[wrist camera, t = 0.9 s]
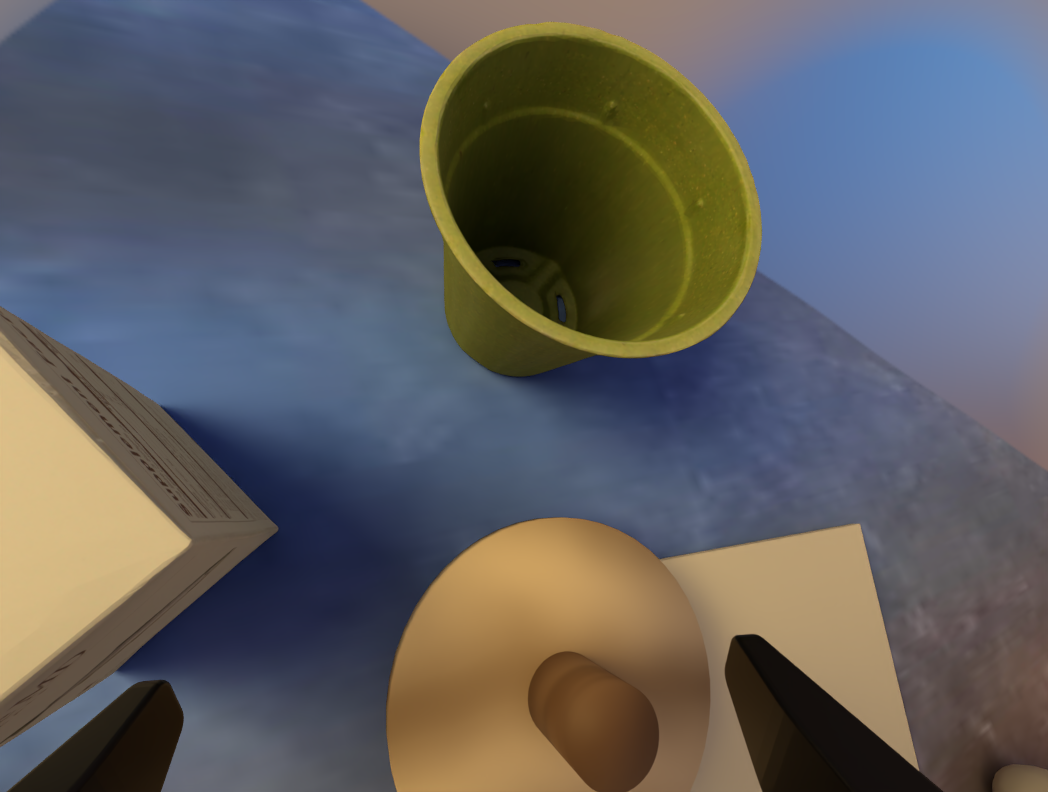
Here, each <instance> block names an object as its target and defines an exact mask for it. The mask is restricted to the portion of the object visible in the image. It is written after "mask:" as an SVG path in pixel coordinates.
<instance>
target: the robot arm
mask: <svg viewBox="0 0 1048 792" xmlns="http://www.w3.org/2000/svg"><path fill="white" fill-rule="evenodd" d="M725 680H726V684H727V687H728V690H729V693H730V696H731V699H732V702H733V705H734V708H735V711H736V715H737V718H738V721H739V724H740V727H741V730H742V733H743V736H744V739H745V742H746V745H747V748H748V752H749V755H750V758H751V761H752V764H753V767H754V770H755V773H756V776H757V779H758V781H759V784H760V787H761V789H762V792H943V791H942V790H941V789H940V788H938V787H937V786H936V785H935V784H934V783H933V782H931V781H930V780H929V779H928V778H927V777H926V776H924V775H923V774H922V773H921V772H920V771H918V770H917V769H916V768H915V767H914V766H913V765H911V764H910V763H909V762H908V761H907V760H906V759H904V758H903V757H902V756H901V755H900V754H899V753H897V752H896V751H895V750H894V749H893V748H892V747H890V746H889V745H888V744H887V743H886V742H885V741H883V740H882V739H881V738H880V737H879V736H877V735H876V734H875V733H874V732H873V731H872V730H870V729H869V728H868V727H867V726H866V725H865V724H863V723H862V722H861V721H860V720H859V719H858V718H856V717H855V716H854V715H853V714H852V713H851V712H849V711H848V710H847V709H846V708H845V707H843V706H842V705H841V704H840V703H839V702H838V701H836V700H835V699H834V698H833V697H832V696H831V695H829V694H828V693H827V692H826V691H825V690H824V689H822V688H821V687H820V686H819V685H818V684H817V683H815V682H814V681H813V680H812V679H811V678H810V677H808V676H807V675H806V674H805V673H804V672H802V671H801V670H800V669H799V668H798V667H797V666H795V665H794V664H793V663H792V662H791V661H790V660H788V659H787V658H786V657H785V656H784V655H783V654H781V653H780V652H779V651H778V650H777V649H776V648H774V647H773V646H772V645H771V644H770V643H769V642H767V641H766V640H765V639H764V638H762V637H761V636H759V635H757V634H744V635H735V636H734V637H733V638H732V639H731V642H730V646H729V651H728V655H727V659H726V663H725ZM183 721H184V716H183V711H182V708H181V706H180V704H179V702H178V700H177V698H176V695H175V693H174V691H173V689H172V687H171V685H170V683H169V682H167V681H166V680H153V681H142V682H138V683H136V684H134V685H133V686H131V687H130V688H128V689H127V690H126V691H125V692H124V693H123V694H121V695H120V696H119V697H118V698H117V699H115V700H114V701H113V702H112V703H111V704H110V705H108V706H107V707H106V708H105V709H104V710H103V711H101V712H100V713H99V714H98V715H97V716H95V717H94V718H93V719H92V720H91V721H90V722H88V723H87V724H86V725H85V726H84V727H83V728H81V729H80V730H79V731H78V732H77V733H75V734H74V735H73V736H72V737H71V738H70V739H68V740H67V741H66V742H65V743H64V744H63V745H61V746H60V747H59V748H58V749H57V750H55V751H54V752H53V753H52V754H51V755H50V756H48V757H47V758H46V759H45V760H44V761H43V762H41V763H40V764H39V765H38V766H37V767H35V768H34V769H33V770H32V771H31V772H30V773H28V774H27V775H26V776H25V777H24V778H22V779H21V780H20V781H19V782H18V783H17V784H15V785H14V786H13V787H12V788H11V789H10V790H8V791H7V792H161V790H162V787H163V784H164V781H165V778H166V775H167V772H168V769H169V766H170V763H171V760H172V757H173V754H174V752H175V749H176V746H177V743H178V740H179V737H180V734H181V731H182V727H183Z"/></svg>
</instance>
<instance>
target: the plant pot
mask: <svg viewBox="0 0 1048 792" xmlns="http://www.w3.org/2000/svg"><path fill="white" fill-rule="evenodd" d="M420 164H421V173H422V180H423V184H424V188H425V192H426V196H427V200H428V203H429V206H430V209H431V212H432V215H433V217H434V219H435V222H436V224H437V226H438V228H439V230H440V232H441V234H442V238H443V241H444V301H445V314H446V319H447V322H448V326H449V328H450V330H451V332H452V335H453V337H454V338H455V340H456V342H457V343H458V345H459V346H460V347H461V348H462V350H463V351H464V352H466V353H467V354H468V355H469V356H470V357H472V358H473V359H474V360H476V361H477V362H478V363H480V364H481V365H483V366H484V367H486V368H487V369H489V370H491V371H493V372H496V373H499V374H503V375H508V376H531V375H535V374H539V373H542V372H546V371H549V370H552V369H555V368H558V367H561V366H564V365H567V364H570V363H573V362H576V361H579V360H582V359H585V358H588V357H592V356H595V355H602V356H608V357H617V358H647V357H655V356H661V355H666V354H670V353H673V352H677V351H680V350H683V349H685V348H688V347H690V346H693V345H695V344H697V343H699V342H701V341H703V340H705V339H706V338H708V337H709V336H711V335H712V334H714V333H715V332H716V331H718V330H719V329H720V328H721V327H722V326H723V325H724V324H726V322H727V321H728V320H729V319H730V318H731V317H732V315H733V314H734V313H735V311H736V310H737V309H738V307H739V306H740V304H741V303H742V302H743V300H744V298H745V296H746V294H747V293H748V291H749V289H750V287H751V284H752V282H753V279H754V276H755V273H756V269H757V265H758V261H759V256H760V250H761V240H762V225H761V212H760V205H759V199H758V195H757V191H756V188H755V184H754V179H753V176H752V174H751V172H750V168H749V165H748V162H747V160H746V158H745V156H744V154H743V152H742V150H741V148H740V145H739V143H738V142H737V140H736V138H735V137H734V135H733V134H732V132H731V130H730V128H729V127H728V125H727V123H726V122H725V121H724V119H723V118H722V116H721V115H720V114H719V113H718V111H717V110H716V109H715V107H714V106H713V105H712V104H711V103H710V102H709V101H708V99H707V98H706V97H705V96H704V95H703V94H702V93H701V92H700V91H699V90H698V89H697V88H696V87H695V86H694V85H693V84H692V83H691V82H690V81H689V80H688V79H687V78H685V77H684V76H683V75H682V74H681V73H680V72H679V71H677V70H676V69H675V68H673V67H672V66H671V65H669V64H668V63H667V62H665V61H664V60H662V59H661V58H660V57H658V56H657V55H655V54H653V53H652V52H650V51H648V50H646V49H645V48H642V47H641V46H639V45H637V44H635V43H632V42H630V41H628V40H626V39H625V38H622V37H619V36H616V35H611V34H609V33H606V32H604V31H602V30H599V29H595V28H590V27H585V26H581V25H575V24H569V23H557V22H545V23H540V24H526V25H520V26H514V27H510V28H507V29H504V30H501V31H498V32H495V33H493V34H491V35H489V36H487V37H485V38H483V39H481V40H479V41H478V42H476V43H474V44H473V45H471V46H470V47H468V48H467V49H465V50H464V51H463V52H462V53H461V54H459V55H458V56H457V57H456V58H455V59H454V60H453V61H452V62H451V63H450V65H449V66H448V67H447V68H446V70H445V71H444V72H443V74H442V75H441V77H440V78H439V80H438V82H437V83H436V85H435V87H434V89H433V91H432V93H431V95H430V97H429V100H428V103H427V105H426V108H425V111H424V116H423V120H422V126H421V133H420ZM502 259H504V260H506V259H513V260H519V261H520V262H521V265H520V266H519V267H514V266H501V267H496V266H495V265H494V262H491V261H496V260H502ZM555 295H556V296H557V295H561V296H562V298H563V301H564V305H565V310H566V322H562V321H560V320H559V318H558V307H557V299H556V296H555Z"/></svg>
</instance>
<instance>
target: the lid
mask: <svg viewBox="0 0 1048 792" xmlns="http://www.w3.org/2000/svg"><path fill="white" fill-rule="evenodd" d="M710 702H711V699H710V675H709V667H708V658H707V653H706V649H705V645H704V640H703V636H702V633H701V630H700V627H699V624H698V621H697V618H696V615H695V613H694V611H693V609H692V607H691V605H690V603H689V600H688V598H687V596H686V595H685V593H684V591H683V590H682V588H681V587H680V585H679V583H678V582H677V580H676V579H675V577H674V576H673V575H672V574H671V572H670V571H669V570H668V569H667V567H666V566H665V565H664V564H663V563H662V562H661V561H660V560H659V559H658V558H657V557H656V556H655V555H654V554H653V553H652V552H651V551H650V550H649V549H647V548H646V547H645V546H643V545H642V544H641V543H639V542H638V541H637V540H635V539H634V538H632V537H630V536H628V535H626V534H625V533H623V532H621V531H619V530H617V529H614V528H612V527H609V526H607V525H604V524H601V523H597V522H593V521H588V520H584V519H575V518H540V519H532V520H528V521H523V522H518V523H515V524H512V525H509V526H506V527H504V528H501V529H498V530H496V531H494V532H492V533H490V534H489V535H487V536H485V537H483V538H481V539H479V540H478V541H476V542H475V543H473V544H472V545H471V546H469V547H468V548H466V549H465V550H463V551H462V552H461V553H460V554H459V555H458V556H456V557H455V558H454V559H453V560H452V561H451V562H450V563H449V564H448V565H447V566H446V567H445V568H444V569H443V570H442V571H441V572H440V573H439V575H438V576H437V577H436V578H435V579H434V580H433V582H432V583H431V584H430V585H429V587H428V588H427V590H426V591H425V593H424V594H423V596H422V597H421V599H420V600H419V602H418V603H417V605H416V606H415V608H414V610H413V612H412V614H411V616H410V618H409V620H408V622H407V624H406V626H405V628H404V631H403V633H402V636H401V639H400V641H399V644H398V647H397V650H396V652H395V656H394V661H393V665H392V669H391V673H390V677H389V685H388V693H387V701H386V733H387V741H388V749H389V757H390V764H391V771H392V774H393V778H394V782H395V786H396V790H397V792H690V791H691V788H692V786H693V783H694V781H695V778H696V776H697V773H698V770H699V767H700V763H701V760H702V756H703V752H704V749H705V744H706V738H707V732H708V727H709V716H710Z"/></svg>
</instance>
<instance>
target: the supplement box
mask: <svg viewBox="0 0 1048 792" xmlns="http://www.w3.org/2000/svg"><path fill="white" fill-rule="evenodd" d="M277 531H278V527H277V525H276V524H274V523H273V522H272V521H271V520H270V519H269V518H268V517H267V516H266V515H265V514H264V513H263V512H262V511H261V510H260V509H259V508H258V507H257V506H256V505H255V504H254V502H253V501H252V500H251V499H250V498H249V497H248V496H247V495H246V494H245V493H244V492H243V491H242V490H241V489H240V488H239V487H238V486H237V485H236V484H235V483H234V482H233V481H232V479H231V478H230V477H229V476H228V475H227V474H226V473H225V472H224V471H223V470H222V469H221V468H220V467H219V466H218V465H217V464H216V463H215V462H214V461H213V460H212V459H211V458H210V457H209V456H208V455H207V454H206V453H205V452H204V451H203V449H202V448H201V447H200V446H199V445H198V444H197V443H196V442H195V441H194V440H193V439H192V438H191V437H190V436H189V435H188V434H187V433H186V432H185V431H184V430H183V429H182V428H181V427H180V426H179V425H178V424H177V423H176V422H175V421H174V420H173V419H172V418H171V417H170V416H169V415H168V414H167V413H166V412H165V411H164V410H163V409H162V408H161V407H160V406H159V405H158V404H157V403H156V402H154V401H153V400H151V399H149V398H148V397H146V396H144V395H143V394H141V393H140V392H139V391H137V390H136V389H134V388H133V387H131V386H130V385H128V384H127V383H125V382H123V381H122V380H120V379H118V378H117V377H115V376H114V375H112V374H110V373H109V372H107V371H106V370H104V369H102V368H101V367H99V366H97V365H96V364H94V363H92V362H91V361H89V360H88V359H86V358H85V357H83V356H81V355H79V354H78V353H76V352H74V351H73V350H71V349H69V348H68V347H66V346H64V345H62V344H61V343H59V342H57V341H56V340H54V339H53V338H51V337H49V336H48V335H46V334H44V333H43V332H41V331H40V330H38V329H36V328H35V327H33V326H32V325H30V324H29V323H27V322H25V321H24V320H22V319H20V318H19V317H17V316H15V315H14V314H12V313H10V312H9V311H7V310H5V309H4V308H2V307H1V306H0V747H1V746H3V745H4V744H6V743H7V742H9V741H11V740H12V739H14V738H15V737H17V736H18V735H20V734H21V733H23V732H25V731H26V730H28V729H29V728H31V727H32V726H34V725H35V724H37V723H38V722H40V721H41V720H43V719H45V718H46V717H48V716H49V715H51V714H52V713H54V712H55V711H57V710H58V709H60V708H61V707H63V706H64V705H66V704H67V703H69V702H71V701H72V700H74V699H75V698H77V697H79V696H80V695H82V694H83V693H84V692H86V691H87V690H89V689H91V688H92V687H94V686H95V685H97V684H98V683H100V682H101V681H103V680H104V679H106V678H107V677H109V676H110V675H111V674H113V673H114V672H115V671H116V670H117V669H118V668H119V667H121V666H122V665H123V664H124V663H125V662H126V661H127V660H128V659H129V658H130V657H131V656H132V655H133V654H134V653H135V652H136V651H138V650H139V649H140V648H141V647H142V646H143V645H144V644H145V643H146V642H147V641H149V640H150V639H151V638H152V637H153V636H154V635H155V634H157V633H158V632H159V631H160V630H161V629H162V628H164V627H165V626H166V625H167V624H168V623H169V622H171V621H172V620H173V619H174V618H175V617H176V616H178V615H179V614H180V613H181V612H182V611H183V610H185V609H186V608H187V607H188V606H189V605H190V604H192V603H193V602H194V601H195V600H196V599H198V598H199V597H200V596H201V595H202V594H203V593H205V592H206V591H207V590H208V589H209V588H210V587H212V586H213V585H214V584H215V583H216V582H217V581H218V580H220V579H221V578H222V577H223V576H224V575H225V574H227V573H228V572H229V571H230V570H231V569H232V568H234V567H235V566H236V565H237V564H238V563H239V562H240V561H242V560H243V559H244V558H245V557H246V556H248V555H249V554H250V553H251V552H253V551H254V550H255V549H256V548H257V547H259V546H260V545H261V544H262V543H263V542H265V541H266V540H267V539H268V538H270V537H271V536H272V535H273V534H275V533H276V532H277Z"/></svg>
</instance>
